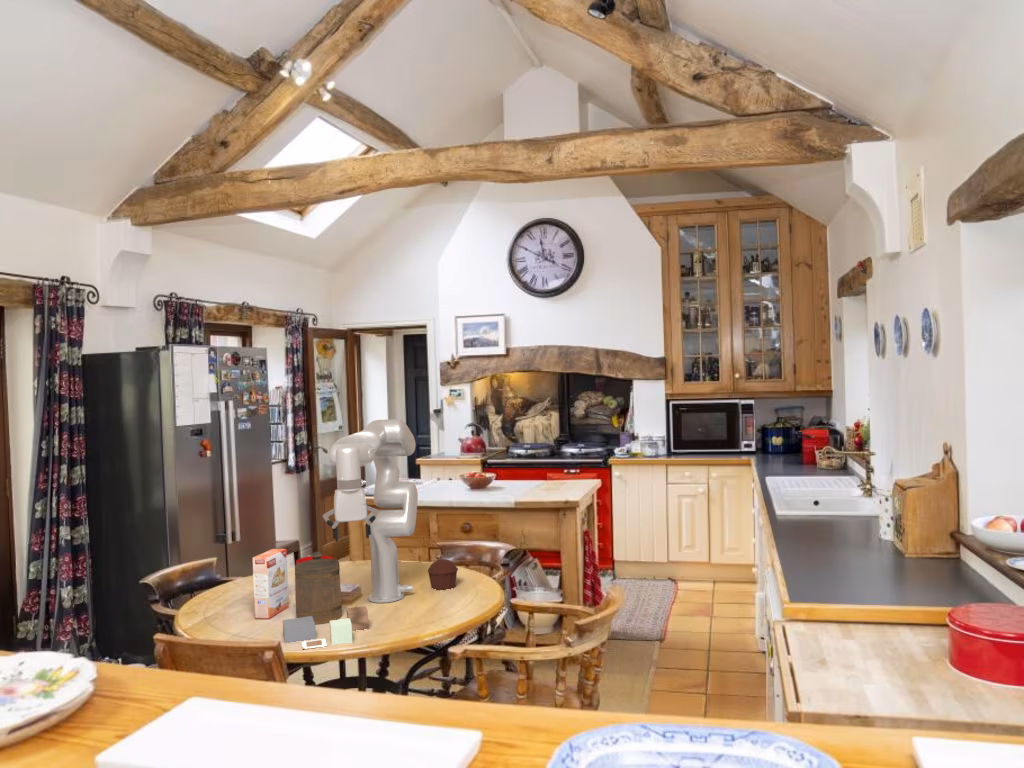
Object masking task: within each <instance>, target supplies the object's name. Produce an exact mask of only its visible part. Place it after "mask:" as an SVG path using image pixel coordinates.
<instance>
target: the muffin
mask: <svg viewBox="0 0 1024 768" xmlns="http://www.w3.org/2000/svg"><path fill="white" fill-rule="evenodd" d="M458 570H459V568H458V567H457V566H456V564H455V563H454V562H452V561H451V560H449V559H443V558H442V559H438V560H435V561H434V562H433V563H432V564H431V565H430V566H429V567H428V569H427V573H428V577H429V583H430V587H431V589H432V588H433V589H432V590H434V589H436V590H435V591H440V590H443V591H447V590H446V589H450V590H452V589H451V588H453V589H455V587H456V583H457V572H458Z"/></svg>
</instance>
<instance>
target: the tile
mask: <svg viewBox="0 0 1024 768" xmlns="http://www.w3.org/2000/svg"><path fill="white" fill-rule="evenodd" d="M326 640H327V639H326V638H324V637H323V638H316V639H315V640H309V641H302V642H301V647H303V648H305V649H307V648H315V647H323V648H325V647H324V646H327V647H328V645H327V641H326Z"/></svg>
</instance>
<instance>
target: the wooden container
mask: <svg viewBox="0 0 1024 768" xmlns="http://www.w3.org/2000/svg"><path fill="white" fill-rule="evenodd" d="M322 556H323V554H322V552H320V551H314V552H312V553H311V557H312V558H313V559H312V560H308V561H304V562H301V563H298V564H296V563H295V565H294V579H295V580H294V581H295V583H294V587H295V588H294V589H295V591H294V592H295V594H294V595H295V598H294V600H295V613H296V616H295V617H296V618H301V617H308V616H312V617H313V620H314V622H315V625H324V624H327V622H328V623H330V621H332V620H336V619H337V620H339V619H341V618H342V616H343V612H342V611H343V609H342V608H343V607H342V606H343V605H342V590H341V575H340V574H341V573H340V571H341V569H340V567H341V566H340V561H339V560H337V559H334V558H333V559H322V558H321V557H322ZM338 618H339V619H338Z"/></svg>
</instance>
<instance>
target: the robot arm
mask: <svg viewBox="0 0 1024 768" xmlns="http://www.w3.org/2000/svg"><path fill="white" fill-rule="evenodd" d="M415 450H416V440H415V436H414V434H413V433H412V431H411V430H410V428H409V427H408V425H407V424H406V422H405V421H403V420H401V419H399V418H394V419H393V418H392V419H390V418H389V419H377V420H372V421H371V422H369V423H368V424H367V425H366V426H365V427H364V428H363V429H362V430H361V431H358V432H354V433H352V434H349V435H346V436H343V437H341V438H338V440H336V441H335V442H334V443H333V444H332V446H331V447H330V449H329V454H328V457H329V458H328V459H329V462H330V463H331V465H332V466H334V467H335V468H336V469H335V470H336V484H337V486H336V487H337V489H335V490H334V495H333V508H331V509H330V510H329V511H327V512H325V513H323V515H322V518H323V520H324V522H326V524H327V525H328V526H329V527H330V528H332V539H334V541H335V542H338V541H339V534H338V533H339V532H338V531H339V530H338V527H337V526H338V525H339V524H340V523H345V522H348V523H349V522H356V521H364V522H365V525H364V526H365V528H364V529H365V537H366V539H369V553H370V568H371V587H372V588H371V589H372V593H370V594H369V595H368V598H367V600H368V601H370V602H372V603H377V604H384V603H386V604H387V603H392V602H396V601H399V600H402V599H403V598H404V596H405V594H404V592H411V591H413V585H412V584H411V585H409V584H404V585H403V584H400V579H399V562H398V561H399V560H398V547H397V545H396V543H395V542H394V540H393V539H392V537H395V538H396V537H398V538H400V537H403V538H404V537H410V536H412V535H413V534H414V533H415V529H416V523H417V514H418V513H417V510H418V496H419V495H418V493H419V492H418V488H417V486H416V484H415V483H414V482H412V481H407V480H406V481H400V469H399V467H398V465H397V464H396V463H395V462H394V461H393V460H392V458H390V457H409V456H411V455H413V454H414V453H415ZM372 462H373V464H374V466H375V472H376V473H375V481H374V491H373V503H374V505H375V506H376V507H377V508H382V509H377V508H374V507H372V506H369V505H367V504H368V503H367V497H366V493H365V491H366V490H365V489H364V487H362V486H364V485H367V481H366V479H365V480H364V479H362V471H361V467H366V466H369V465H370V464H371V463H372ZM368 511H369V514H368ZM333 515H334V520H333V521H331V520H330V518H329V517H330V516H333Z"/></svg>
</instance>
